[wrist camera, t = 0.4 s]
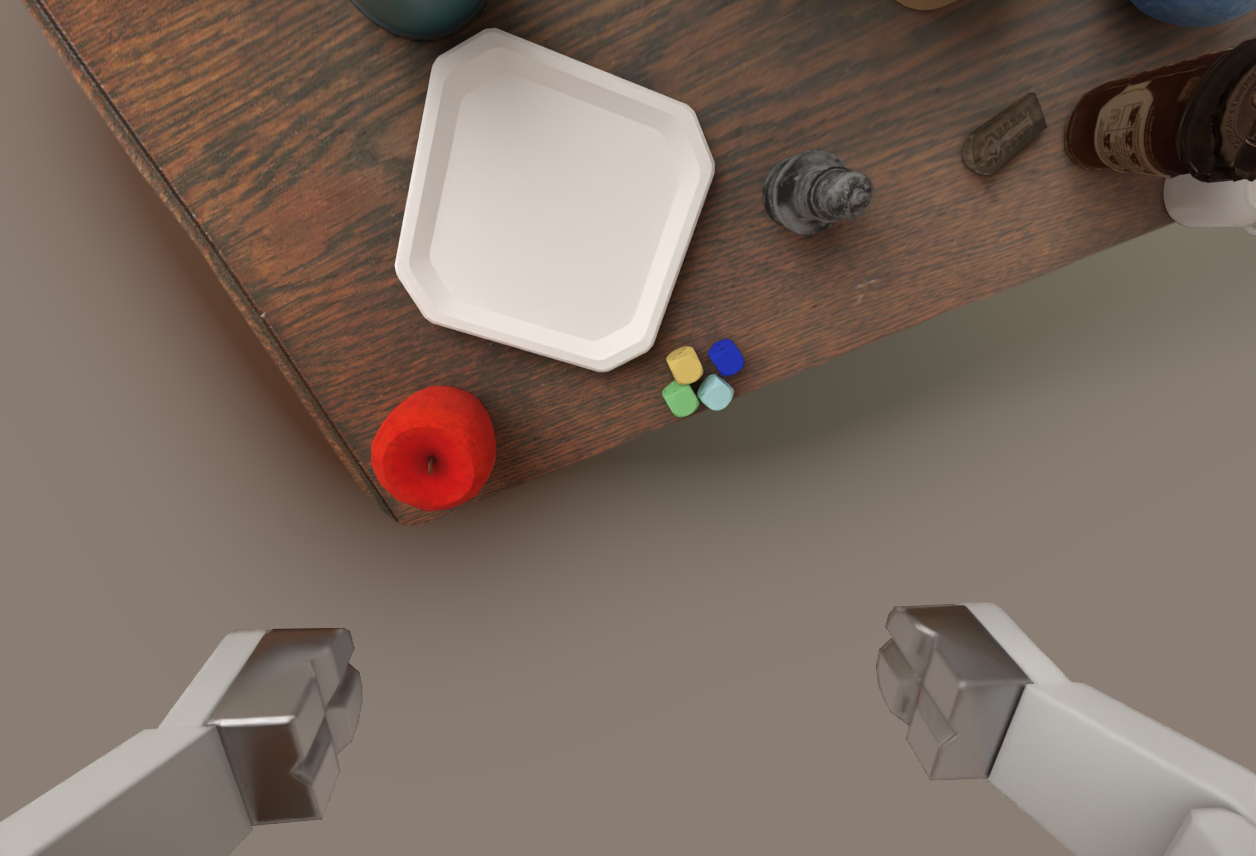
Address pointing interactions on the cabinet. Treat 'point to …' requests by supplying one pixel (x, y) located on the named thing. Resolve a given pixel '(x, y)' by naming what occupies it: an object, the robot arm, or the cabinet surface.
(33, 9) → the cabinet surface
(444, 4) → the teal cylindrical knob
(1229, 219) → the teacup
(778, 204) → the salt shaker
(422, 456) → the apple
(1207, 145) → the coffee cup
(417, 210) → the plate
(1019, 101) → the block
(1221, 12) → the blue oval fruit
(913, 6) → the stand
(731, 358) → the dice
